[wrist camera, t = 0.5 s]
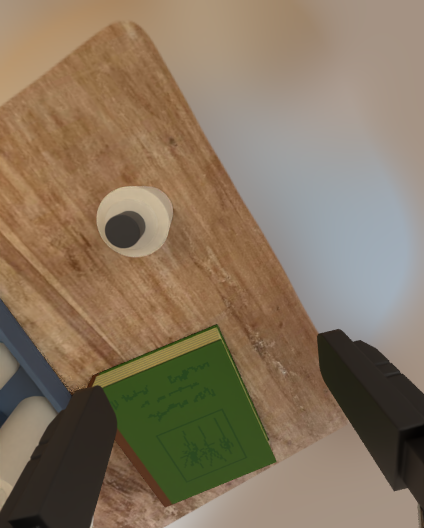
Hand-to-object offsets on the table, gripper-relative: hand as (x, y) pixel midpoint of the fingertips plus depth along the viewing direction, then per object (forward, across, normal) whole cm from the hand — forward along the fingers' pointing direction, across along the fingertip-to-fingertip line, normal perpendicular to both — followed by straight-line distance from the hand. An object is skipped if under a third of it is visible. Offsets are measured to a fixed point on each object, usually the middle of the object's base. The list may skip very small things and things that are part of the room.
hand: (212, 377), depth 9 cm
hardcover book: (+22, +8, +27) cm, 35 cm away
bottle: (+23, +5, -4) cm, 24 cm away
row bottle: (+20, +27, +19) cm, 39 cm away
